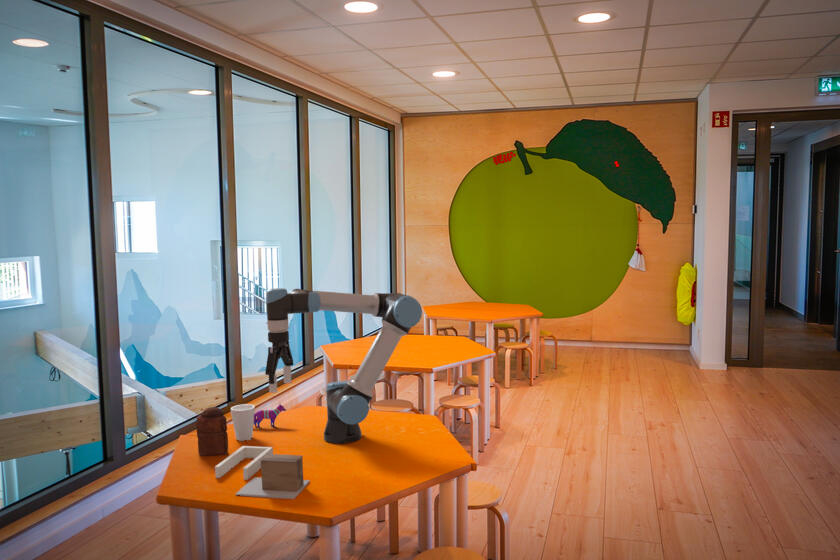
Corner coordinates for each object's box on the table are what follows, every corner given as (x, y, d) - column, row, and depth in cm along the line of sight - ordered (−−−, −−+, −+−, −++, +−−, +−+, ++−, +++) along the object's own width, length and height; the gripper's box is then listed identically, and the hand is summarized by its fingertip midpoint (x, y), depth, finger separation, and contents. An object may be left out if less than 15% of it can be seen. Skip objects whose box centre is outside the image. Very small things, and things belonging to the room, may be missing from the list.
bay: (273, 457, 254) (272, 447, 254) (247, 479, 233) (247, 468, 233) (243, 456, 257) (242, 445, 256) (215, 477, 236) (214, 466, 235)
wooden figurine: (230, 449, 264) (228, 404, 263) (227, 455, 258) (225, 408, 256) (199, 451, 263) (197, 405, 262) (195, 457, 257) (193, 410, 255)
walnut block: (269, 482, 229) (268, 453, 228) (303, 484, 226) (302, 455, 225) (262, 489, 223) (260, 460, 222) (296, 491, 220) (295, 461, 219)
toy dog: (286, 427, 291) (285, 403, 290) (243, 430, 288) (242, 406, 287) (287, 424, 295) (286, 401, 294) (244, 427, 292) (243, 404, 291)
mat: (309, 482, 230) (309, 480, 230) (294, 499, 216) (293, 497, 216) (254, 478, 234) (254, 477, 234) (235, 495, 220) (235, 493, 220)
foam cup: (259, 435, 282) (257, 404, 280) (251, 442, 272) (250, 410, 271) (237, 434, 283) (235, 404, 281) (228, 442, 273) (227, 410, 272)
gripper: (282, 325, 262) (284, 379, 264) (253, 336, 238) (256, 396, 240) (300, 325, 261) (302, 379, 263) (274, 336, 237) (276, 396, 239)
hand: (280, 387), depth 252 cm, fingers open, 13 cm apart
